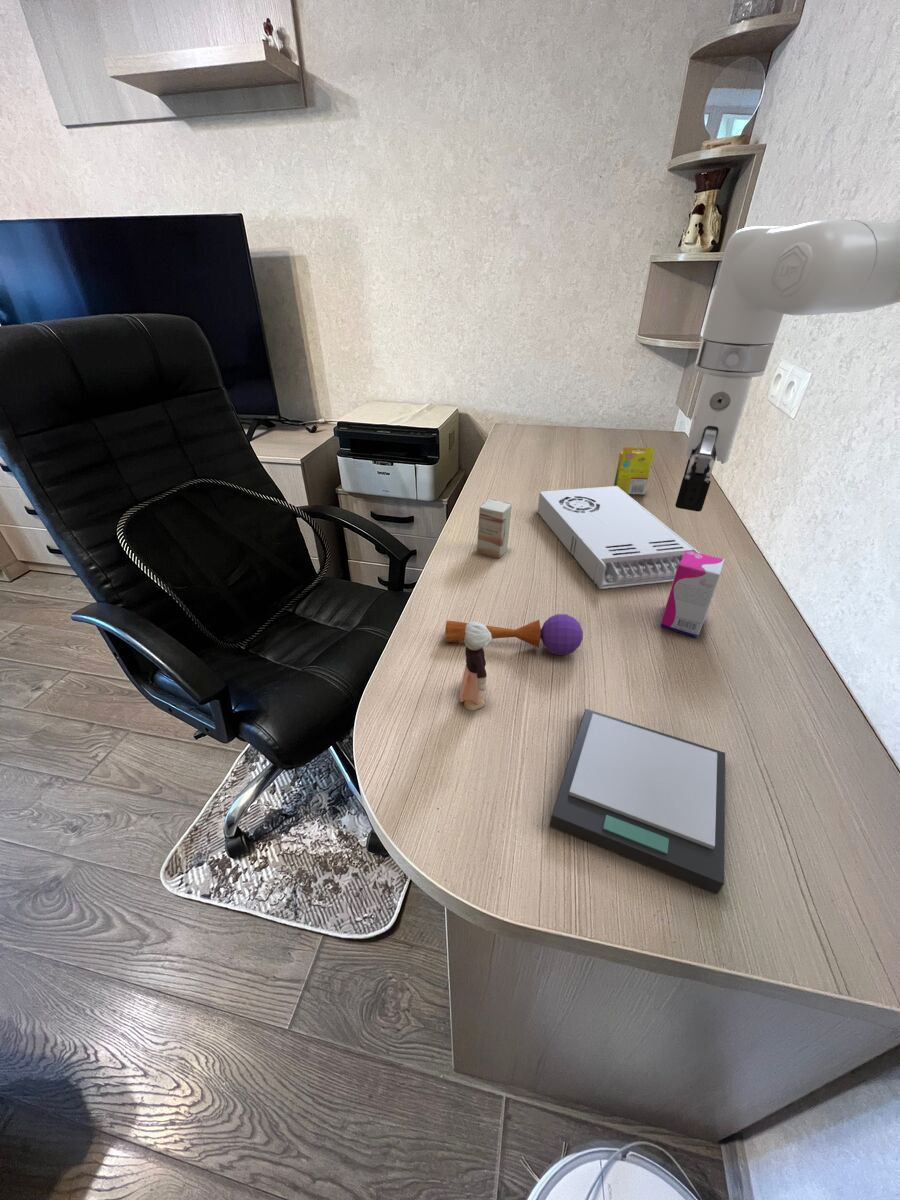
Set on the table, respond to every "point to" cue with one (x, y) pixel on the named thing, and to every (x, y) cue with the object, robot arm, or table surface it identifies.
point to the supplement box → (691, 593)
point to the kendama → (532, 633)
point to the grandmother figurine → (474, 665)
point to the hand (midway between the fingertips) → (691, 495)
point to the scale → (646, 798)
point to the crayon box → (633, 470)
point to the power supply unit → (613, 536)
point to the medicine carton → (493, 528)
